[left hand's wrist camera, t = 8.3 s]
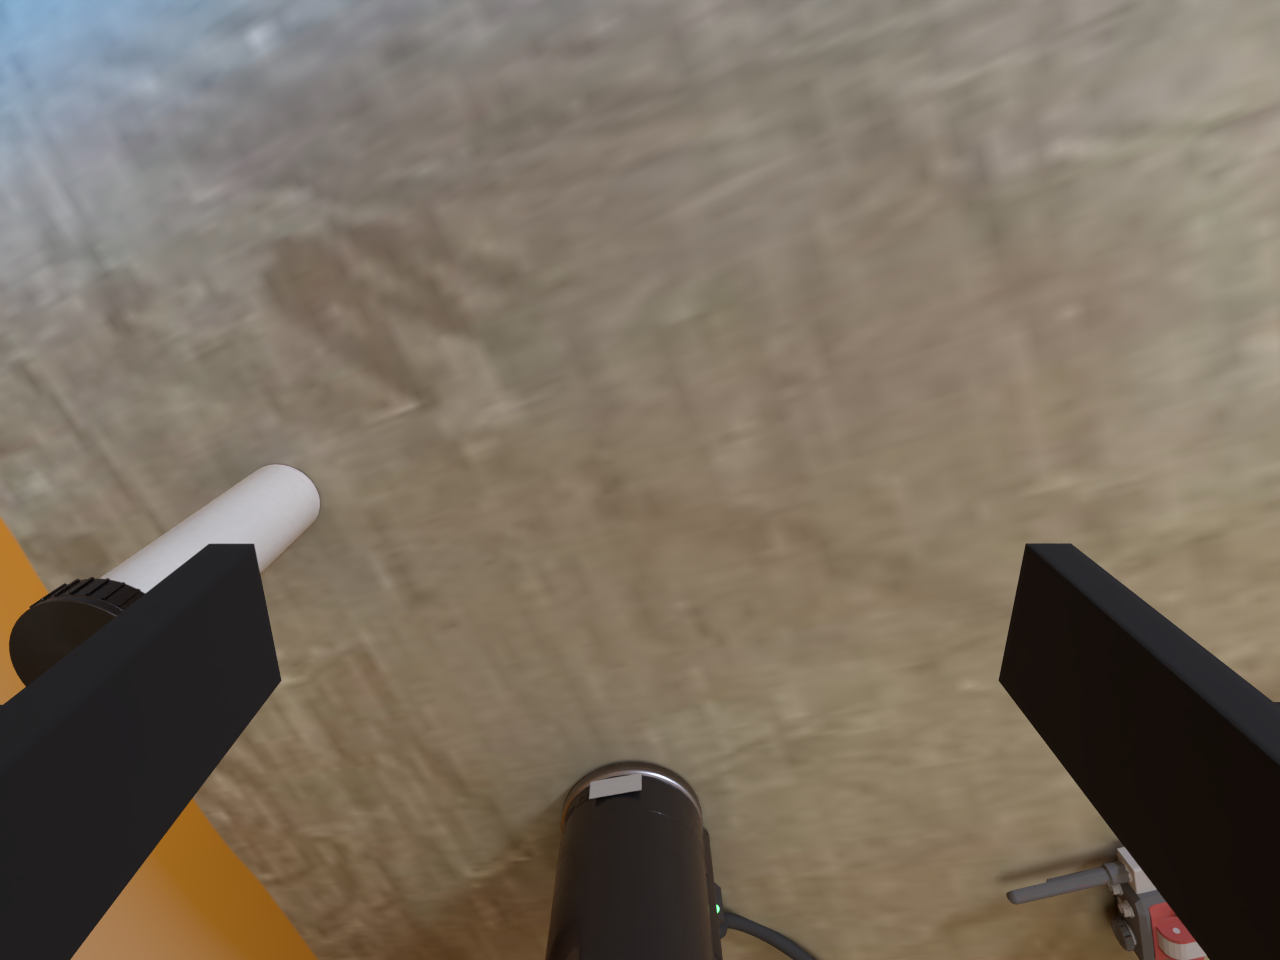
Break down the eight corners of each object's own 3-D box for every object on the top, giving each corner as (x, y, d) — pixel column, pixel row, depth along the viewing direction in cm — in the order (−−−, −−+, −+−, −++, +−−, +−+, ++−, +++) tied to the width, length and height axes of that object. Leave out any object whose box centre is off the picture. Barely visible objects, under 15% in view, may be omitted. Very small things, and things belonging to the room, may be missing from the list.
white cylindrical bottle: (230, 483, 42) (7, 633, 27) (291, 451, 41) (97, 588, 26) (274, 543, 43) (85, 719, 28) (335, 514, 43) (173, 677, 28)
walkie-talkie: (1296, 799, 50) (996, 869, 52) (1356, 854, 45) (1027, 927, 48) (1298, 893, 52) (1014, 955, 55) (1355, 952, 48) (1044, 1017, 50)
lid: (11, 610, 28) (-26, 634, 27) (122, 553, 27) (90, 575, 26) (105, 714, 30) (75, 743, 28) (212, 664, 29) (187, 690, 27)
